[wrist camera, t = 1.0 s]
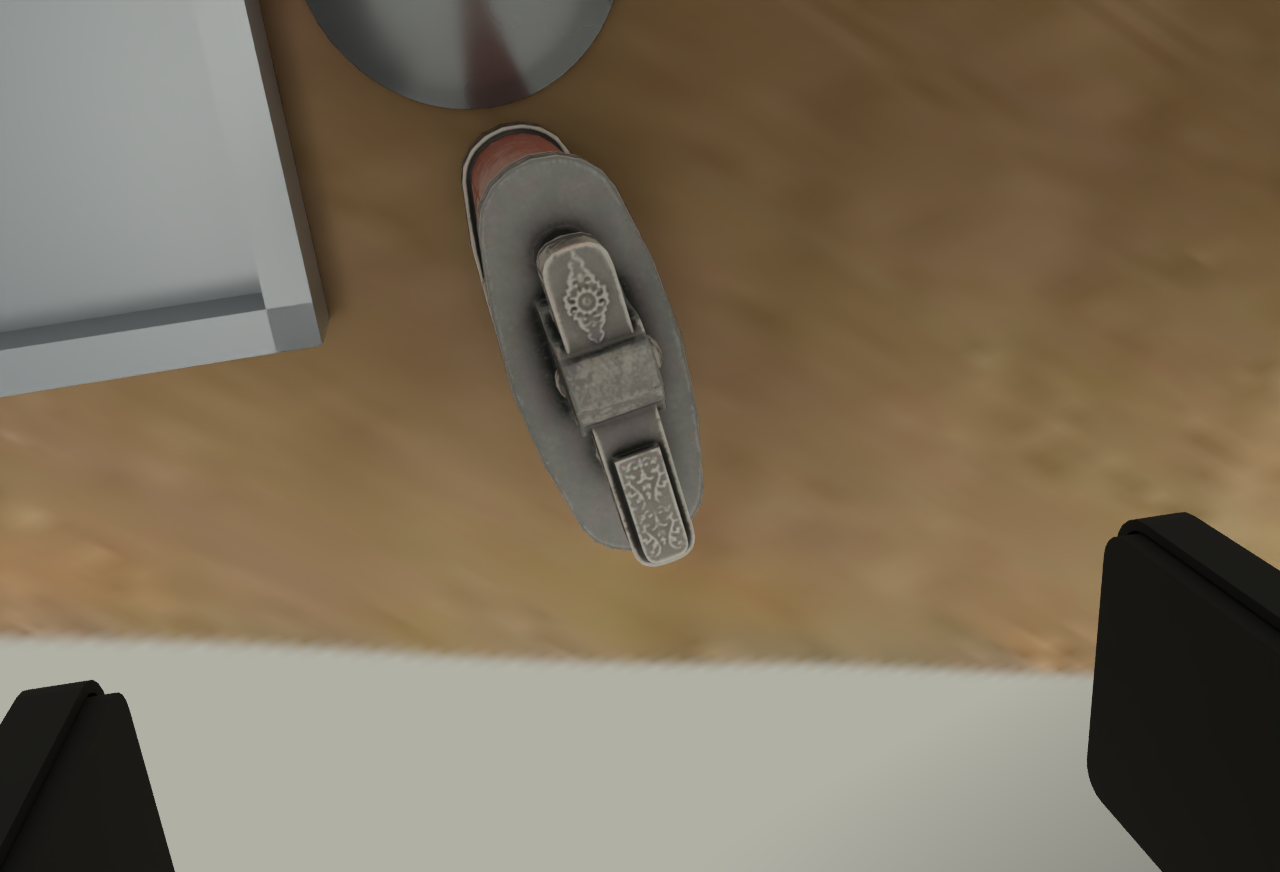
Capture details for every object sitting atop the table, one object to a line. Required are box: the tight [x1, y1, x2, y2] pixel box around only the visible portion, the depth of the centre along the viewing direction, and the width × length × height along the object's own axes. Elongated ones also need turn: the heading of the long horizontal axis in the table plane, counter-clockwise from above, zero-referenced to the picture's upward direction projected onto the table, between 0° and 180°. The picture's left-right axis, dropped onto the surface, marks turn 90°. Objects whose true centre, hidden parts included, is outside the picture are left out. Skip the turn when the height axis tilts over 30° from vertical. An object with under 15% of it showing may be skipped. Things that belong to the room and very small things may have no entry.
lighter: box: [461, 121, 704, 567], centre depth 24 cm, size 8×3×10 cm, turn 16°
